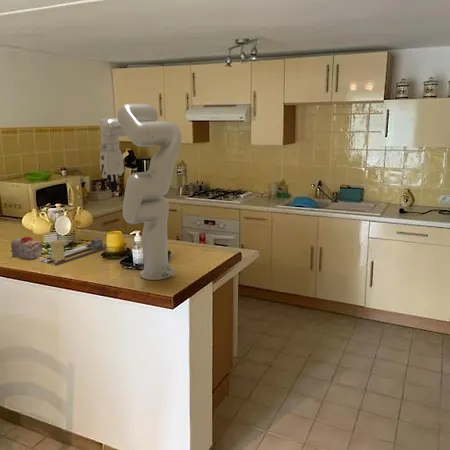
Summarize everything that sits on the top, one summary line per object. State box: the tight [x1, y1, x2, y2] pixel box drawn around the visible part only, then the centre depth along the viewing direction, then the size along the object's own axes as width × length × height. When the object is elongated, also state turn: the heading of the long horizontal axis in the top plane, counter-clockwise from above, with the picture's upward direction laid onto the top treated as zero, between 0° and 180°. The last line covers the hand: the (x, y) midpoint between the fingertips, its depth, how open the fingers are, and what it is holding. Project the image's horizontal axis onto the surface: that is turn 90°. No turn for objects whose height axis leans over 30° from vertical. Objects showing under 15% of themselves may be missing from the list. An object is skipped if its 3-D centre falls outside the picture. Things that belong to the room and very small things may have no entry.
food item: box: [10, 236, 43, 261], centre depth 201 cm, size 14×8×10 cm, turn 64°
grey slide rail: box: [39, 237, 107, 267], centre depth 203 cm, size 12×30×6 cm, turn 147°
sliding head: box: [46, 239, 66, 264], centre depth 194 cm, size 9×4×9 cm, turn 57°
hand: (113, 189), depth 202 cm, fingers closed
